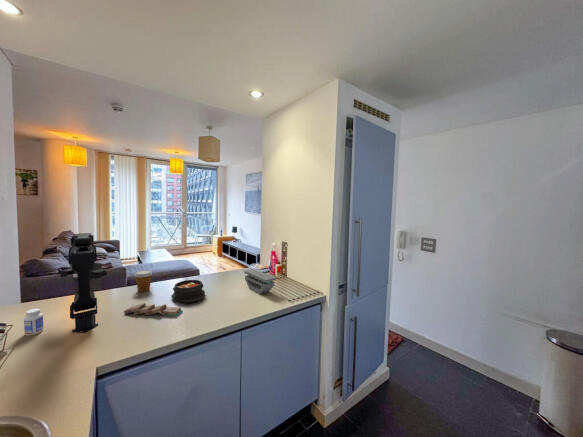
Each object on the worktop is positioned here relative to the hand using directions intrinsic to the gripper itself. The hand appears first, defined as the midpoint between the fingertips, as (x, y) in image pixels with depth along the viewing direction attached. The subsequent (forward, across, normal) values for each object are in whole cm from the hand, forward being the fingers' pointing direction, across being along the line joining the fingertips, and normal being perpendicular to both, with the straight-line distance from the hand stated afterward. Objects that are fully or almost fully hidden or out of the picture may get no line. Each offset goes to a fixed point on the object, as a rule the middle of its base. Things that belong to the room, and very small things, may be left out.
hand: (84, 290), depth 112 cm
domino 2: (+12, -22, -6) cm, 26 cm away
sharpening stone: (+13, -78, -44) cm, 90 cm away
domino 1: (+12, -17, -7) cm, 22 cm away
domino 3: (+12, -28, -6) cm, 31 cm away
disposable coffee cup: (+13, -5, -35) cm, 38 cm away
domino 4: (+11, -35, -7) cm, 38 cm away
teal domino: (+13, -36, -7) cm, 39 cm away
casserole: (+13, -38, -28) cm, 49 cm away
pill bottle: (+13, +8, +15) cm, 22 cm away
